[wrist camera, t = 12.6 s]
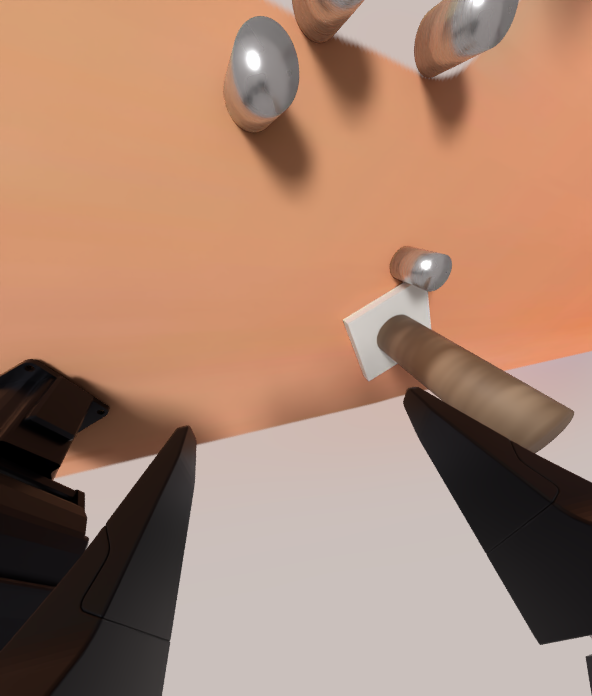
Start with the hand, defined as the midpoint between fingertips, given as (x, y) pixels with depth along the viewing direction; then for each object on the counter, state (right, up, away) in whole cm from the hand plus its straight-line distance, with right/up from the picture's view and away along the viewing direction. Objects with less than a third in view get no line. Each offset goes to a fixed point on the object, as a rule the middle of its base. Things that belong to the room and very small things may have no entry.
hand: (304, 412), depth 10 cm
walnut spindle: (+10, +4, +16) cm, 20 cm away
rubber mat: (+10, +5, +17) cm, 20 cm away
